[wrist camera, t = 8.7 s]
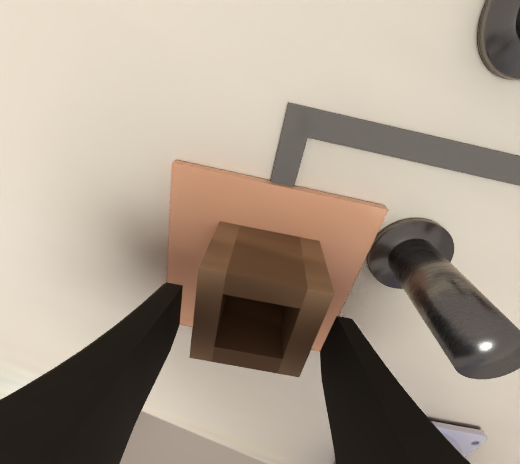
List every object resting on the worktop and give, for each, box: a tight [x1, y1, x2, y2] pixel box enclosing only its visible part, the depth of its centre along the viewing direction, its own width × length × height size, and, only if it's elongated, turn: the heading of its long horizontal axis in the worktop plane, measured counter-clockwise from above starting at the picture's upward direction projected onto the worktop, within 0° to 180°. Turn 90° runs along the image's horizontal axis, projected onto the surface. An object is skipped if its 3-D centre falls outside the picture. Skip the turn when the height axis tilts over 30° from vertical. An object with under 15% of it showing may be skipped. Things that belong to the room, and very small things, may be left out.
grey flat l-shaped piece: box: [270, 103, 520, 187], centre depth 11 cm, size 4×12×1 cm, turn 78°
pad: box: [167, 160, 388, 351], centre depth 13 cm, size 9×9×1 cm
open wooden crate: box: [190, 221, 335, 377], centre depth 11 cm, size 4×4×4 cm
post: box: [367, 218, 520, 379], centre depth 10 cm, size 4×4×6 cm
